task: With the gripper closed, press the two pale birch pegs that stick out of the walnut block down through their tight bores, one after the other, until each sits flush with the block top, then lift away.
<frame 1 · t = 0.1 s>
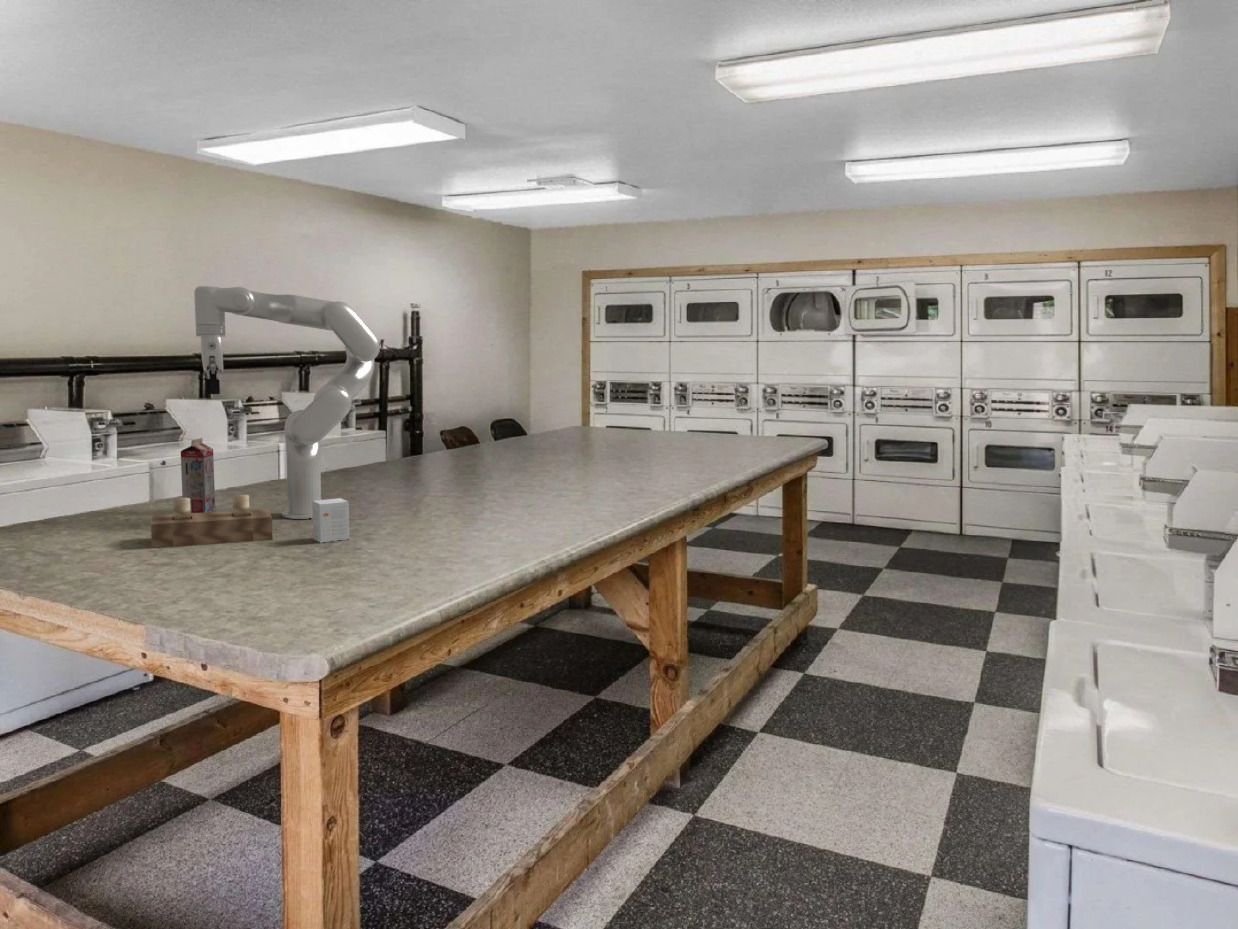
hand: (212, 393, 244), 37 cm above the table, tool pointing down, fingers open, 9 cm apart
press block: (212, 538, 227), on the table
juice carton: (199, 512, 262), on the table
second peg: (181, 510, 223), point 8 cm above the table, slide at 0.0 cm
small box: (331, 540, 231), on the table
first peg: (241, 506, 230), point 8 cm above the table, slide at 0.0 cm
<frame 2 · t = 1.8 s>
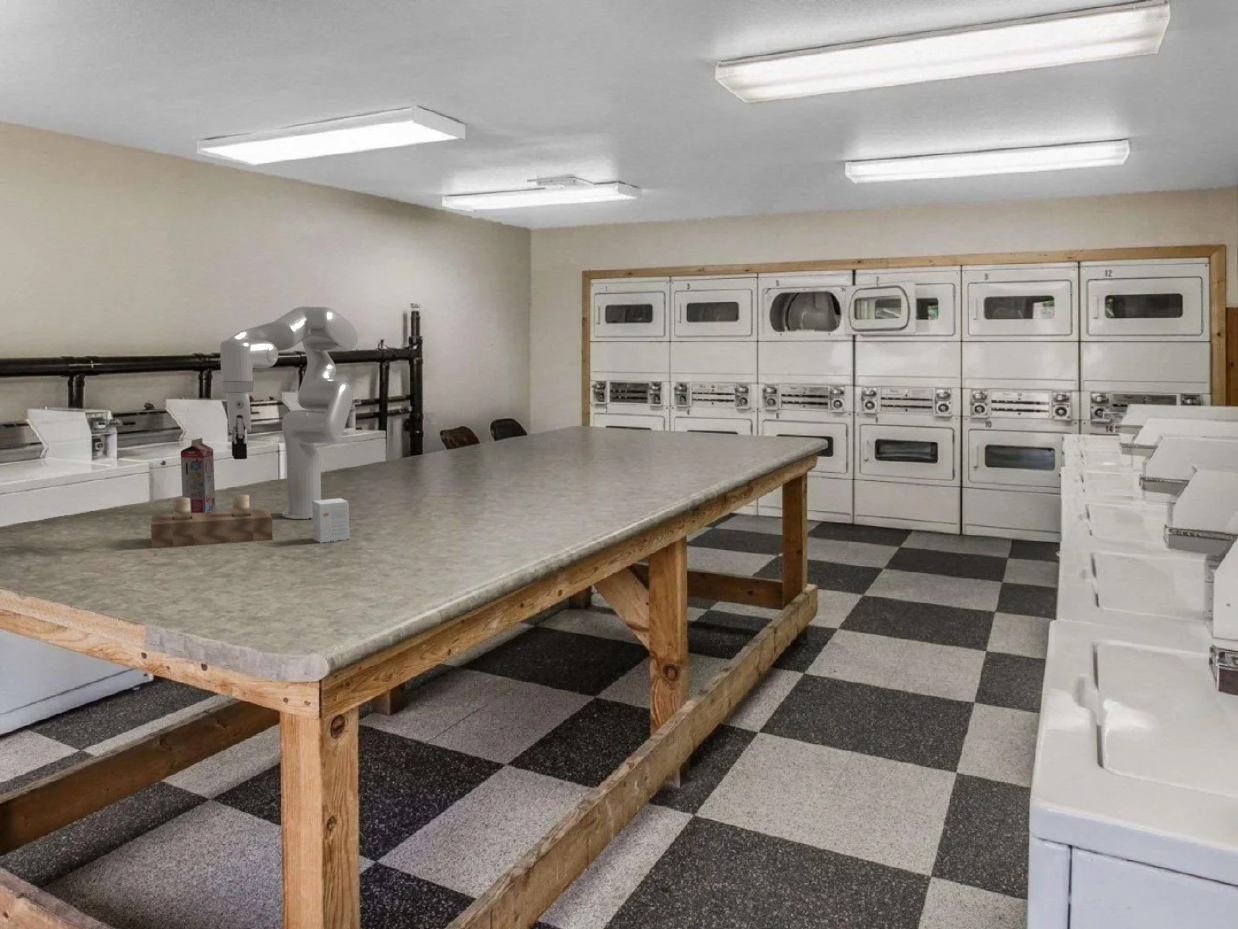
hand: (239, 456, 228), 21 cm above the table, tool pointing down, fingers open, 5 cm apart
nothing on the table moved.
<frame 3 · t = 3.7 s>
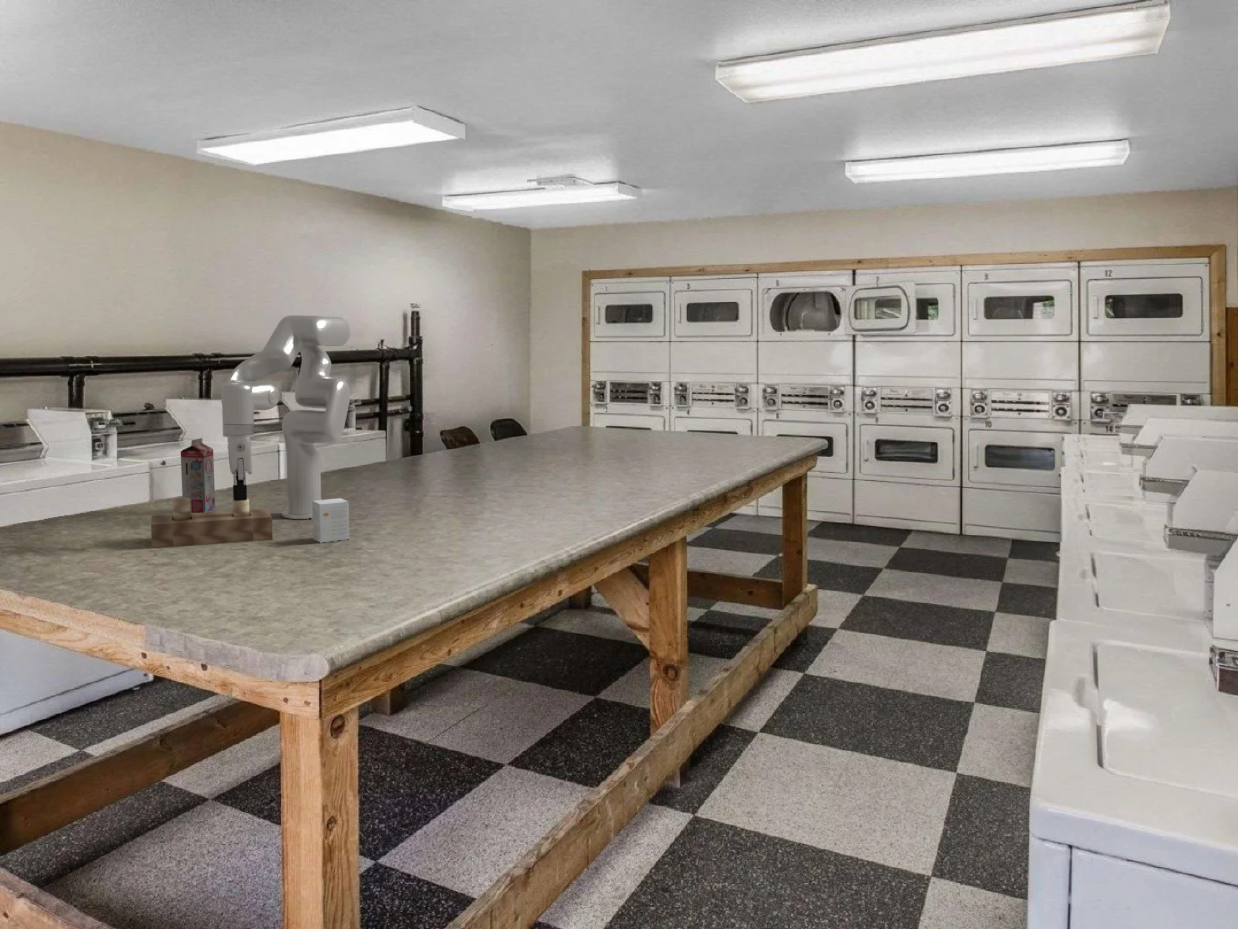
hand: (240, 499, 229), 10 cm above the table, tool pointing down, fingers closed
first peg: (241, 510, 230), point 7 cm above the table, slide at 1.0 cm, touching gripper
everything else where it was.
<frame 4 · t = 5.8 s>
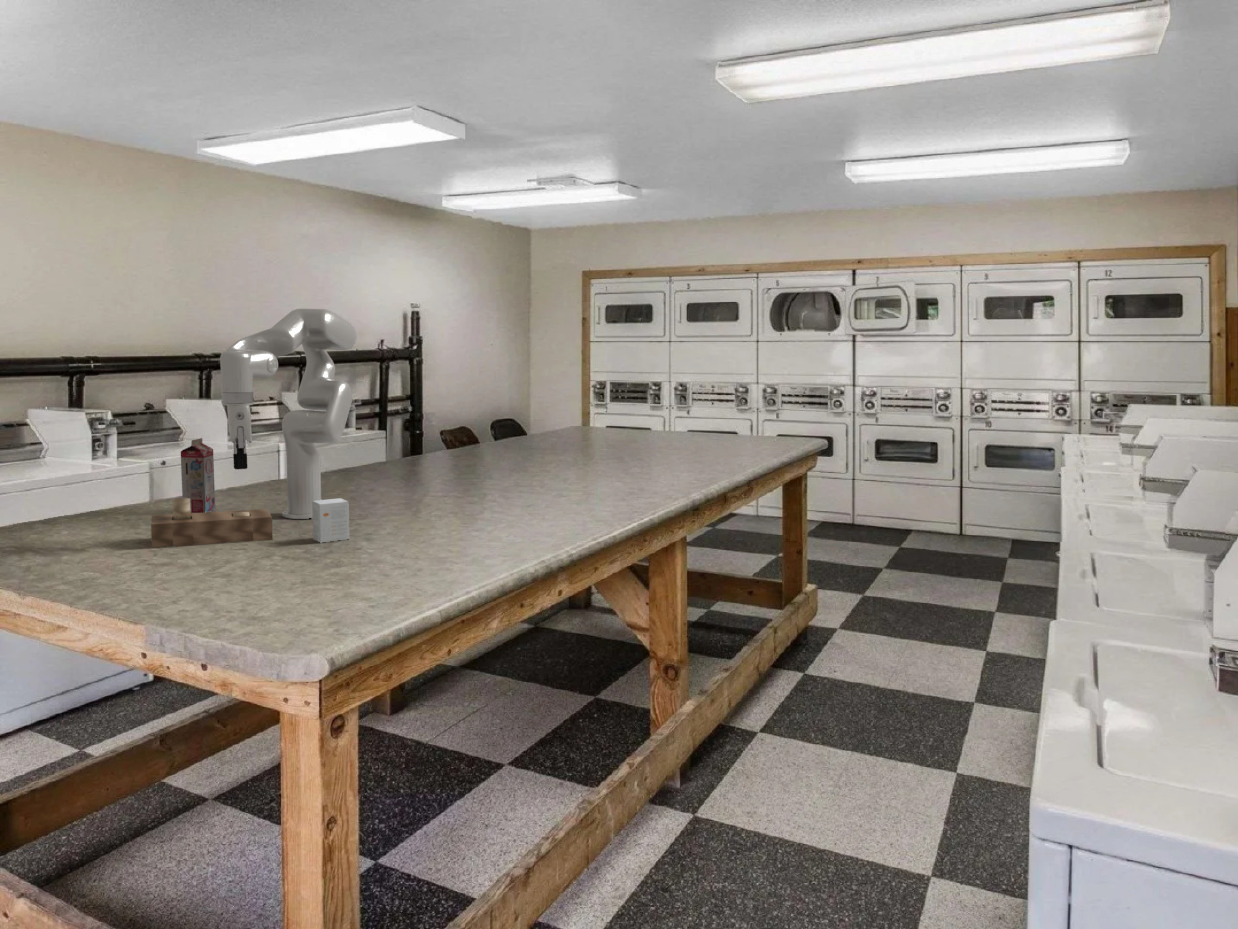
hand: (240, 468, 228), 18 cm above the table, tool pointing down, fingers closed
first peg: (241, 524, 230), point 3 cm above the table, slide at 4.6 cm
everything else where it was.
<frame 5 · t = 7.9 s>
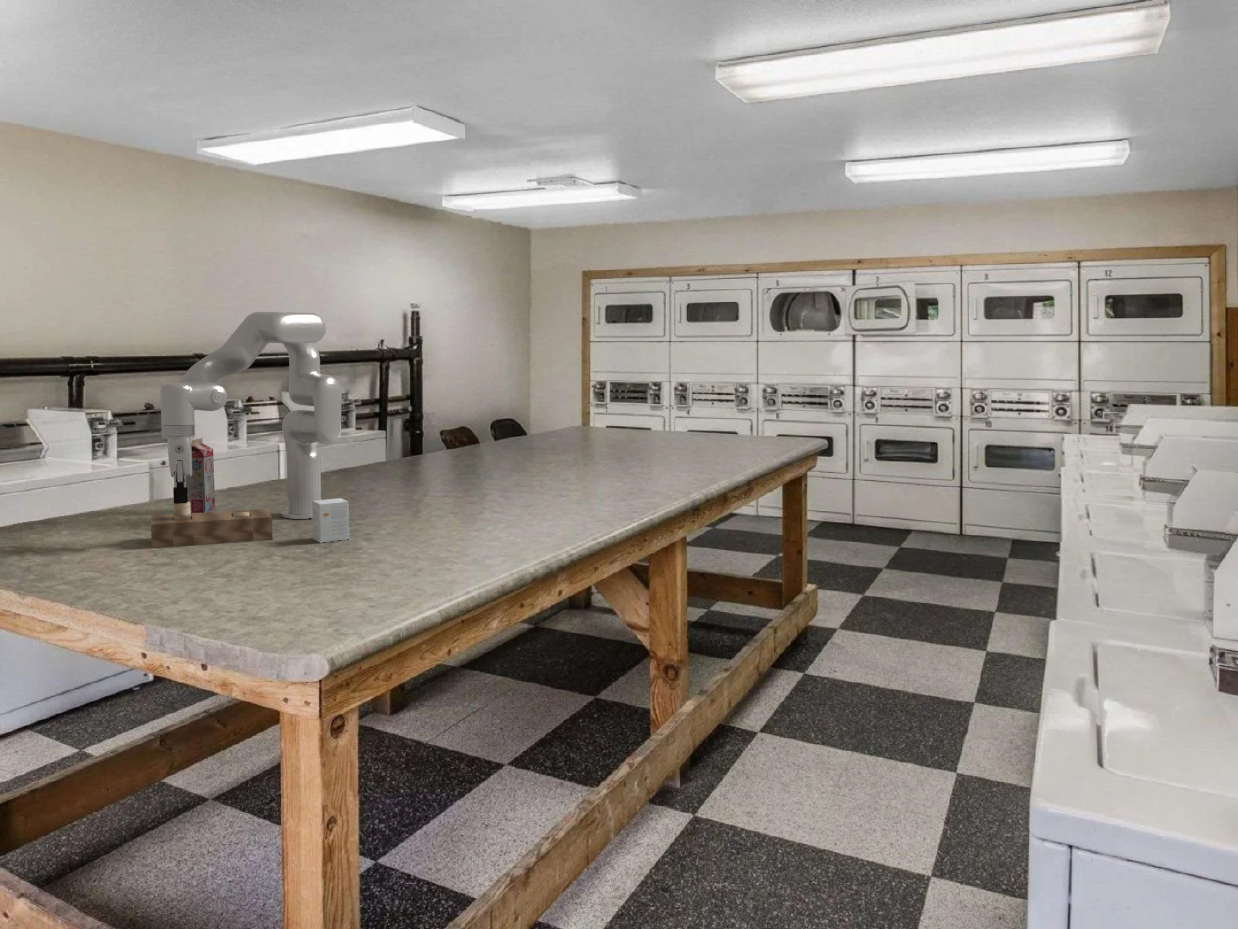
hand: (180, 502, 223), 10 cm above the table, tool pointing down, fingers closed
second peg: (181, 513, 223), point 7 cm above the table, slide at 1.0 cm, touching gripper
everything else where it was.
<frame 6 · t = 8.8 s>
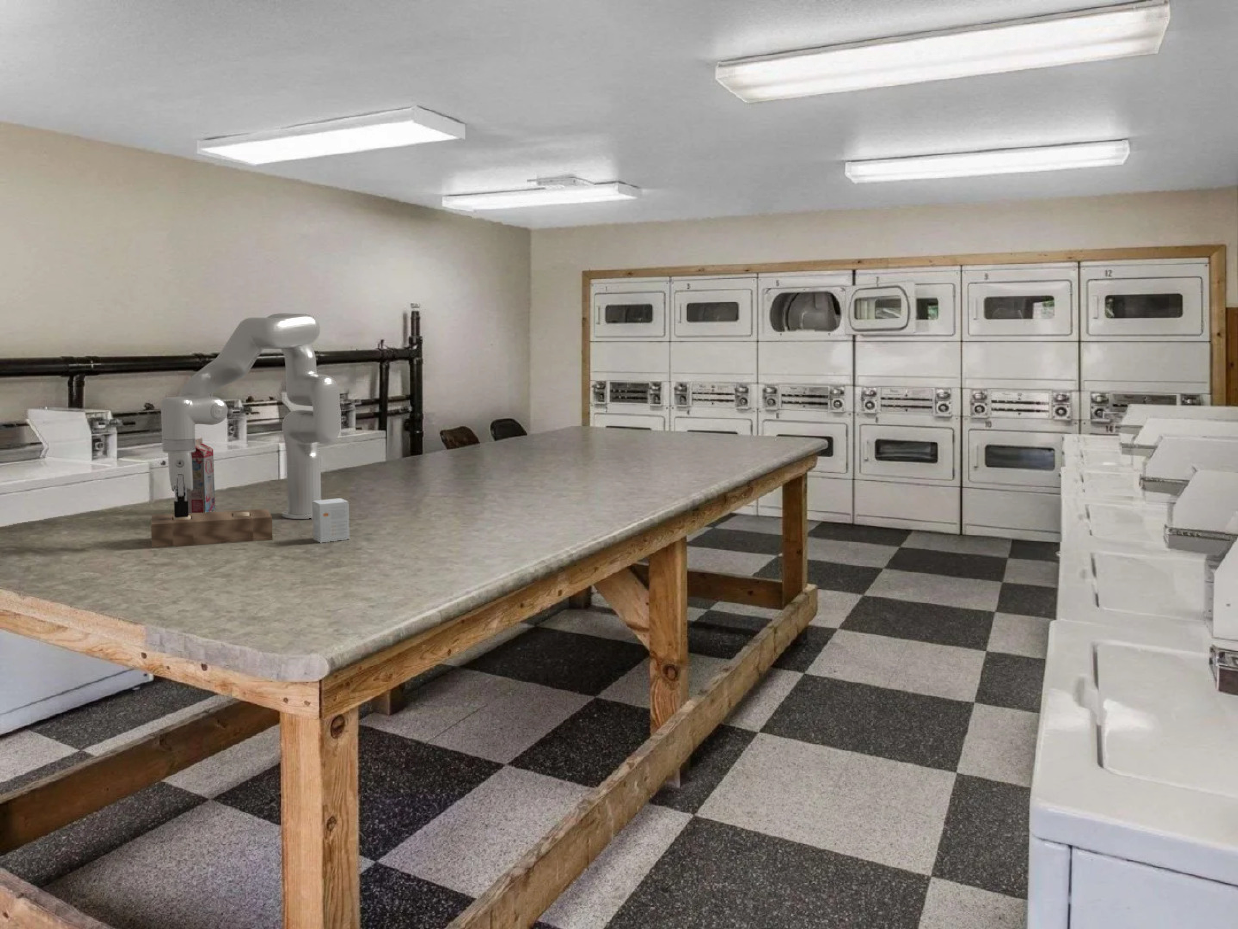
hand: (181, 516, 223), 6 cm above the table, tool pointing down, fingers closed
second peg: (182, 527, 224), point 4 cm above the table, slide at 4.6 cm, touching gripper
everything else where it was.
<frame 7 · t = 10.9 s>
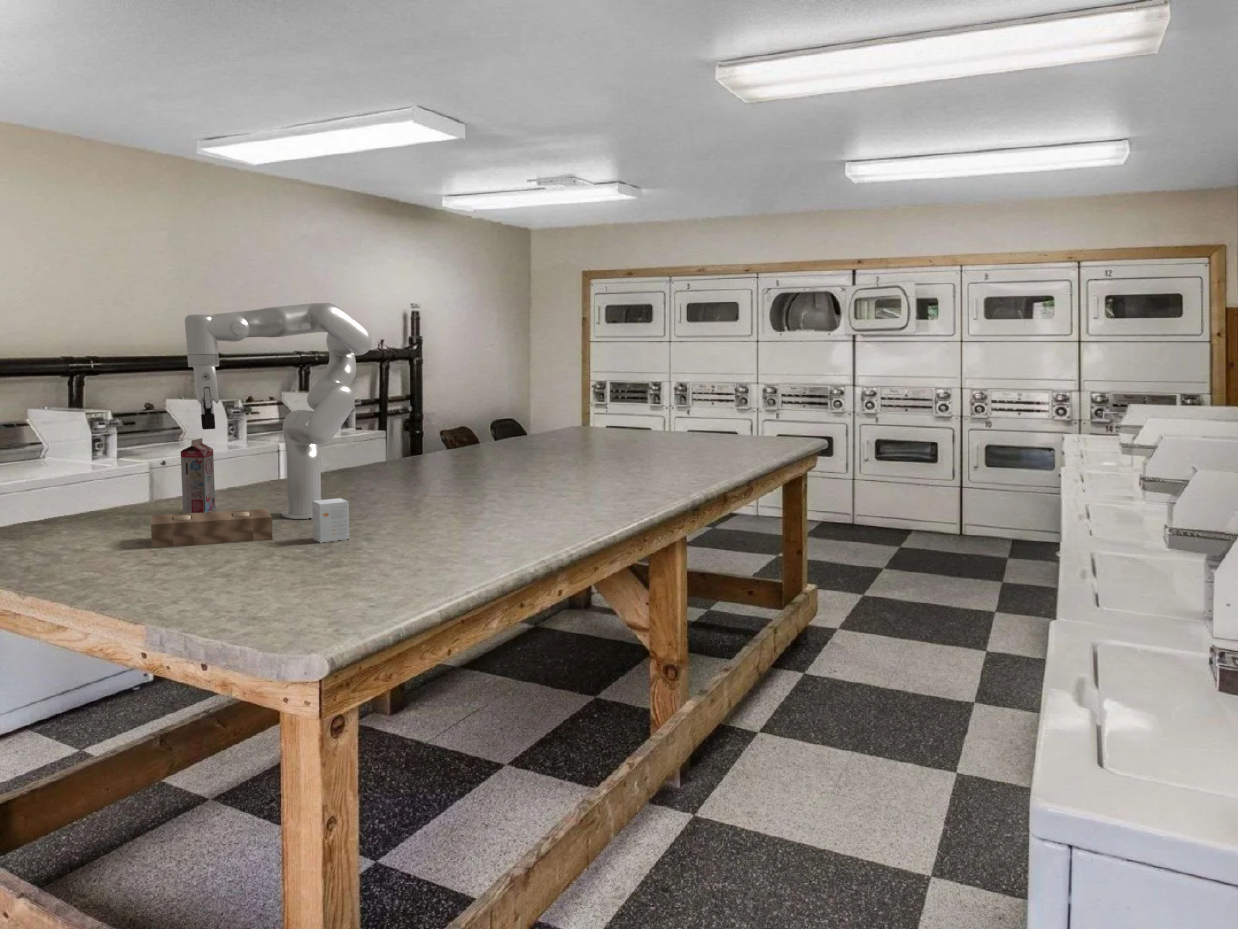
hand: (208, 428, 236), 28 cm above the table, tool pointing down, fingers closed
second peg: (182, 527, 224), point 3 cm above the table, slide at 4.6 cm
everything else where it was.
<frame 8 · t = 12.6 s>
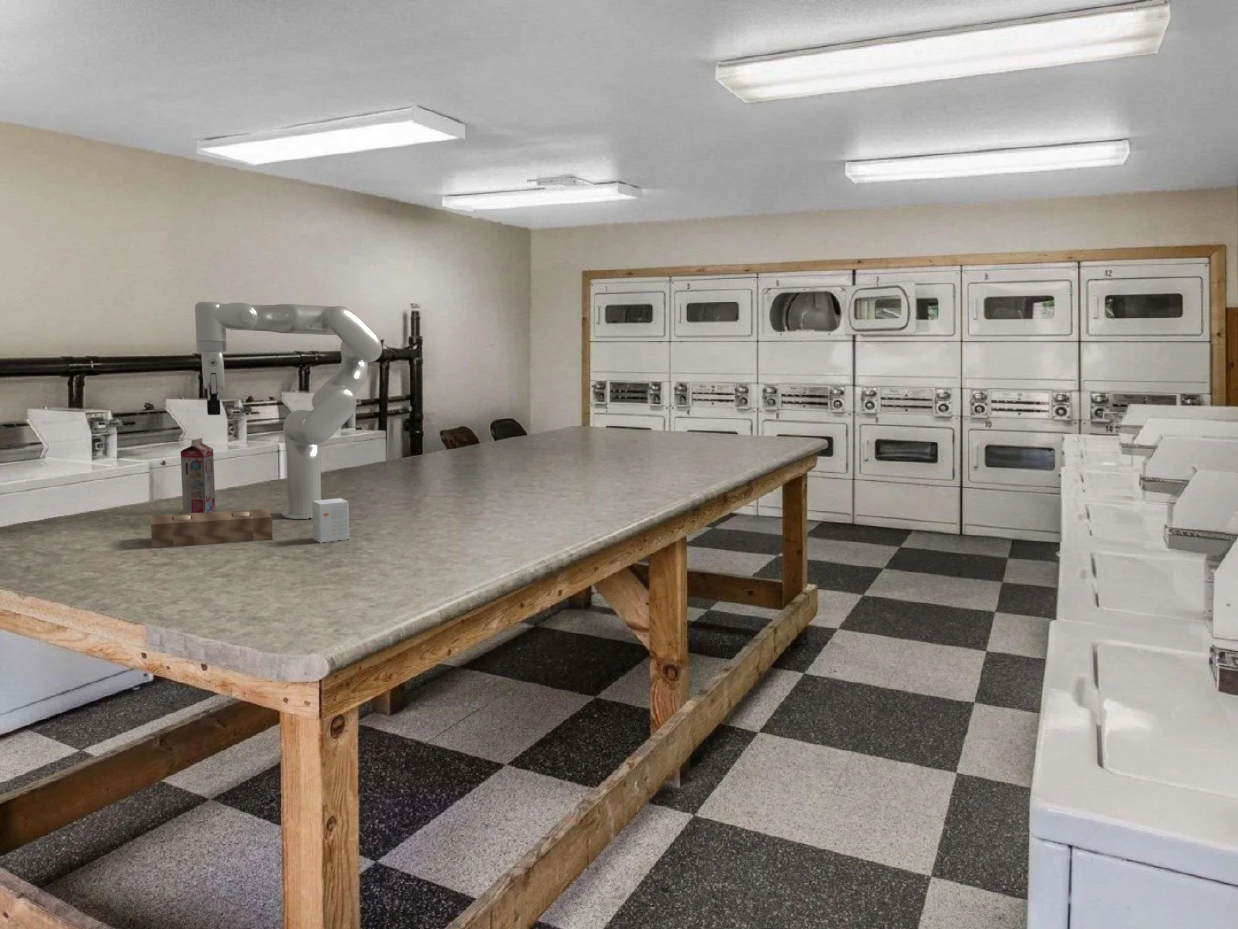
hand: (213, 414, 240), 31 cm above the table, tool pointing down, fingers closed
nothing on the table moved.
at the end: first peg slide at 4.6 cm; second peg slide at 4.6 cm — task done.
